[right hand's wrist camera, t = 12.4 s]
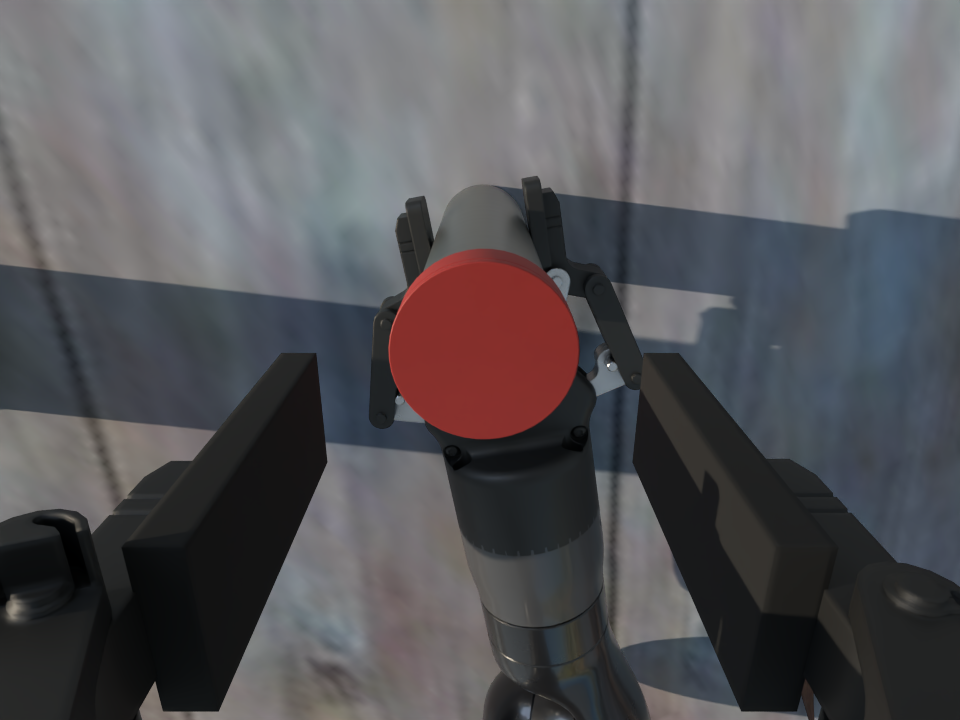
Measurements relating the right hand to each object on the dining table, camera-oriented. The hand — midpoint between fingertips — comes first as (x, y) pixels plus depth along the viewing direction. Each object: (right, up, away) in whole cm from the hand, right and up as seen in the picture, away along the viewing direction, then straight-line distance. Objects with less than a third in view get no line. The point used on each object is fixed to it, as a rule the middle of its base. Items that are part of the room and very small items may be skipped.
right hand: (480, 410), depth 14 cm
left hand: (0, +8, +13) cm, 16 cm away
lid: (0, +1, +3) cm, 3 cm away
